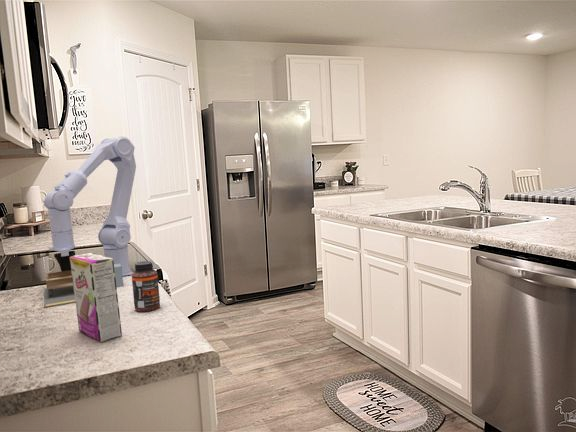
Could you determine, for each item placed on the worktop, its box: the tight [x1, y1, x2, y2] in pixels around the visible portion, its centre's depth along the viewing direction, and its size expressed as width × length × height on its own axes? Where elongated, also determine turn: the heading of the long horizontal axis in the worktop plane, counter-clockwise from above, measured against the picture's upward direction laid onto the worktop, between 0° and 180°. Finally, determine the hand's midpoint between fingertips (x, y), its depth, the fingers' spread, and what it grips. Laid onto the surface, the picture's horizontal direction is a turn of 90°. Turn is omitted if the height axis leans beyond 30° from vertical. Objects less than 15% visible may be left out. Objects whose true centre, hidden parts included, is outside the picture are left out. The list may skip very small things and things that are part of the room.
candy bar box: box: [70, 252, 123, 343], centre depth 99 cm, size 11×5×16 cm, turn 44°
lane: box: [43, 286, 76, 309], centre depth 135 cm, size 22×13×1 cm, turn 27°
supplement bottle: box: [131, 260, 161, 313], centre depth 115 cm, size 6×6×11 cm
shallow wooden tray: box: [45, 270, 73, 297], centre depth 137 cm, size 11×11×5 cm
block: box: [114, 264, 125, 288], centre depth 141 cm, size 4×4×6 cm
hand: (67, 276), depth 143 cm, fingers closed
